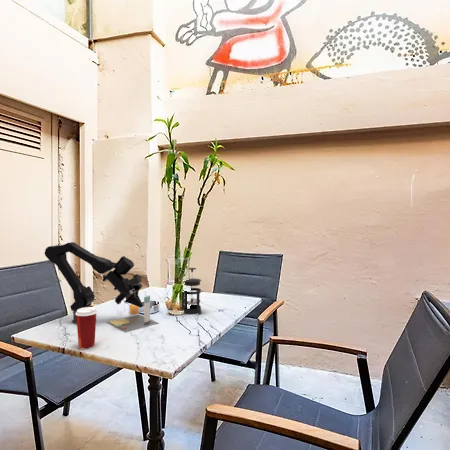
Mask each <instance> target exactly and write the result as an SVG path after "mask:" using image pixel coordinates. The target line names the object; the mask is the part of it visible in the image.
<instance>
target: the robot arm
mask: <svg viewBox="0 0 450 450" xmlns="http://www.w3.org/2000/svg"><path fill="white" fill-rule="evenodd" d="M67 253H71V254H72V255H74V256H75V257H77V258H79V259H81V260H82V261H84V262H85V263H87V264H88V265H90V266H91V268H92V269H93V270H94V271H96V272H97V274H101V275H102V283H105V282H107V281H108V282H109V283H110V284H111V285H112V286H113V287H114V288H113V290H114V291H118V293H119V294H118V295H117V296H116V297H115V298H114V302H115V303H116V304H117V305H120V304H122V301H124V299H125V301H124V303H127V304H129V305H131V304H133V305H135V306H138V307H139V308H142V307H144V304H143V302H142V300H141V298H140V295H139V292H140V290H141V289H142V288H143V287H144V286H143V284H141V283H142V282H143V280H142V276H141V275H140V274H138V273H137V274H134V275H133V277H132V278H131V279H129V278H127V277H124V276H125V275H127V274H128V273H129V272H130V270H132V269H133V268H134V266H135V263H134V261H133V260H132V259H129V258H128V257H126V256H125V255H123V256H121V257H120V258H119V260H118V261H116V262H114V261H112V260H110V259H108V258H105V257H102V256H98V255H96V254H94V253H92V252H91V251H88V250H87V249H85V248H84V247H82V246H80V245H79V244H77V243H76V242H74V241H73V242H72V241H71V242H67V243H65V244H56V245H55V244H54V245H50V246H47V247H46V248H45V250H44V256H45V257H46V258H47V259H48V261H49V262H50V263H52V264H54V265H56V267H57V269H58V270H59V272H60V273H61V274H62V277H63V278H64V279H65V281H66V282H67V284H68V285H69V287H70V288H71V290H72V293H73V299H74V302H72V304H71V305H70V306H69V308H70V310H71V311H72V314H73V315H72V316H73V318H72V320H71V322H73V324H75V325H77V317H76V315H75V314H76V312H77V310H78V309H80V308H85V307H92V304H93V302H94V301H95V292H94V291H93V290H92V288H91V286H86V285H83V283H82V282H81V280H80V278H79V277H78V275H77V274H76V272H75V271H74V269H73V267H72V266H71V264H70V263H69V261H68V259H67ZM103 274H104V275H103Z"/></svg>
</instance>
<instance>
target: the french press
mask: <svg viewBox="0 0 450 450" xmlns="http://www.w3.org/2000/svg"><path fill="white" fill-rule="evenodd" d="M188 270H190V271H191V275H193V274H194V273H193V272H194V270H197V268H196V267H189V269H188ZM188 279H189V280H186V281H183V285H184V286H186V287H190V288H191V290H190V291H188V292H187V291H184V290H183V289H182V290H183V291H184V292H183V291H181V310H182V311H183V310H184V313H183V314H185V315H197V316H199V315H201V314H202V306H201V305H200V303H201V299H200V294H202V293H201V292H202V289H201V288H198V287H197V286H200V285H201V281H202V280H201V279H200V278H193V277H191V278H188ZM184 282H185V284H184ZM187 294H188V295H196V298H193V297H191V298H190V299H191V300H190V301H187ZM187 304H188V305H190V304H191V306H190V309H187Z"/></svg>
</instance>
